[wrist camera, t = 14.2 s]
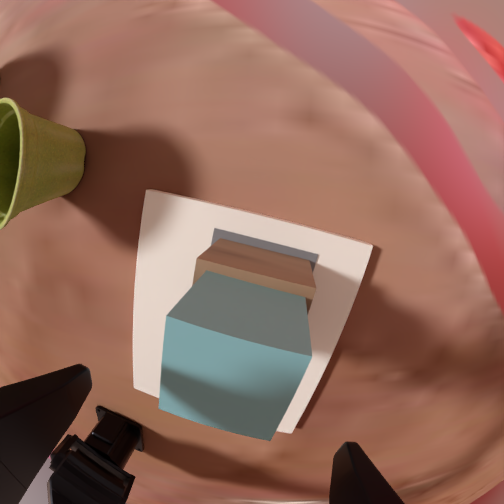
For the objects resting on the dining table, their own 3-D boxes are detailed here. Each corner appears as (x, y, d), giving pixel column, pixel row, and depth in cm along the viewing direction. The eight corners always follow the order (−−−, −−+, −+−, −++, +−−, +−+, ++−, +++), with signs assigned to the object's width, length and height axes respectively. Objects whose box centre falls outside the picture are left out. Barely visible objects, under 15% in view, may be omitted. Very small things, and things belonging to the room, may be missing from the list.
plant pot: (120, 157, 19) (39, 152, 11) (64, 234, 21) (-7, 258, 13) (73, 92, 18) (4, 75, 10) (26, 167, 20) (-38, 173, 12)
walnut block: (285, 337, 20) (283, 380, 15) (205, 316, 20) (183, 354, 15) (309, 260, 18) (316, 288, 13) (220, 238, 18) (196, 258, 14)
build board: (291, 426, 23) (291, 434, 22) (138, 382, 24) (133, 388, 23) (369, 242, 18) (373, 246, 17) (152, 189, 19) (145, 189, 18)
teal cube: (276, 373, 15) (270, 441, 10) (192, 349, 15) (158, 408, 10) (305, 297, 13) (312, 356, 9) (206, 270, 14) (166, 315, 9)
